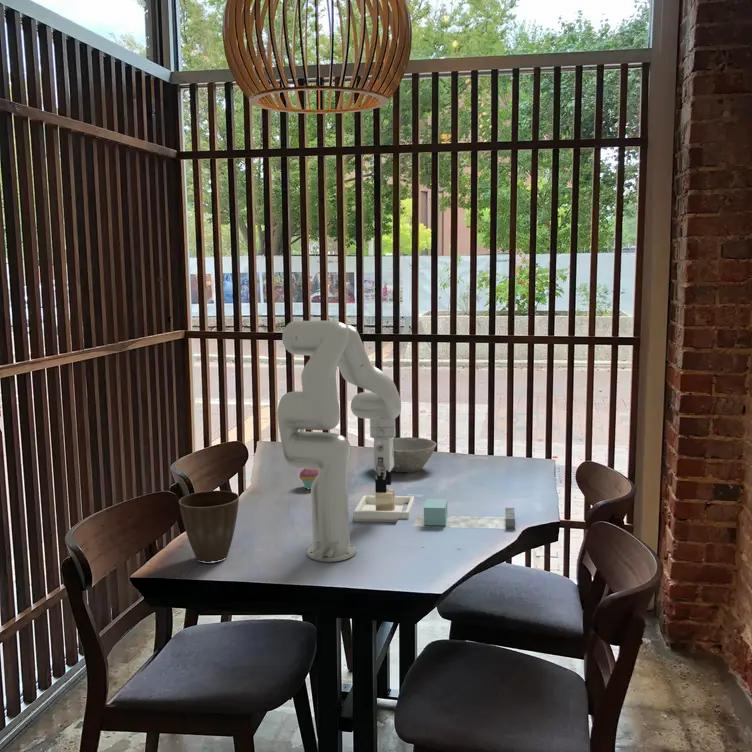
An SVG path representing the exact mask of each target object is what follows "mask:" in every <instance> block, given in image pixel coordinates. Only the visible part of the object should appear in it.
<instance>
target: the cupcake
mask: <svg viewBox="0 0 752 752" xmlns="http://www.w3.org/2000/svg"><path fill="white" fill-rule="evenodd" d="M318 473H319V471H318V470H313V469H304V468H302V470H301V471H300V472H299V479H300V480H301V481H302V483H303V486H304V488H309V489H311V486H312V483H313V481H314V480H315V478H316V477H317V475H318Z"/></svg>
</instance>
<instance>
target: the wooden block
mask: <svg viewBox="0 0 752 752" xmlns="http://www.w3.org/2000/svg"><path fill="white" fill-rule="evenodd" d="M374 496H375V499H376V511H394V509H395V496H396V495H395V489H393V488H387V492H386V493H376V492H375V494H374Z"/></svg>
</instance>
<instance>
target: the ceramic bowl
mask: <svg viewBox="0 0 752 752" xmlns="http://www.w3.org/2000/svg"><path fill="white" fill-rule="evenodd" d="M393 447H394V467H393V468H392V470H391V471H390V472H394V471H397V472H396V473H402V472H408V473H411V472H412V473H416V472H418V471H420V470H421V469H423V468H424V467H425V465H426V464H427V463H428V462H429V460H430V458H431V457H432V455H433V454H434V453H433V452H434V451H435V449H436V447H437V442H436V441H434V440H432V439H428V438H422V437H421V438H420V437H394V438H393Z"/></svg>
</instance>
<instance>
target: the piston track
mask: <svg viewBox="0 0 752 752" xmlns="http://www.w3.org/2000/svg"><path fill="white" fill-rule="evenodd" d="M504 513H505V515H504V516H468V515H467V516H464V515H462V516H461V515H447V521H446V525H424V514H423V515H419V514H417V515H416V516H415V520H414V522H413V524H412V528H414V527H415V528H416V527H417V528H446V529H447V528H453V529H454V528H455V529H489V530H490V529H491V530H492V529H494V530H496V529H497V530H499V529H500V530H515V529H516V517H515V516H516V513H515V507H505V509H504Z"/></svg>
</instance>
